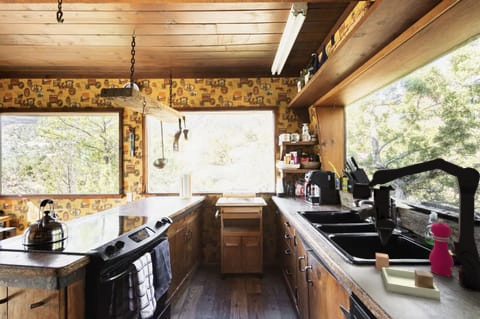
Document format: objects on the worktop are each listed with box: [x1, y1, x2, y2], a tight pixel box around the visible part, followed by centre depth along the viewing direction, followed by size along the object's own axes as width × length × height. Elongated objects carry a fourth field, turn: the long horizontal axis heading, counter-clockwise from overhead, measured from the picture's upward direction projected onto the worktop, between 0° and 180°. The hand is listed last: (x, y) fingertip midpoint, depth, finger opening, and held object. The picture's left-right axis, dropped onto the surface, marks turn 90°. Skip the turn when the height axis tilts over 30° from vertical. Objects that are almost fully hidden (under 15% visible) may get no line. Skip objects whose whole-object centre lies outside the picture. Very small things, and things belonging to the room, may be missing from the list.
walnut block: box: [414, 269, 434, 289], centre depth 81 cm, size 4×4×5 cm
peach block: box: [375, 252, 390, 271], centre depth 98 cm, size 4×4×5 cm
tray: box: [381, 267, 441, 301], centre depth 84 cm, size 14×14×3 cm
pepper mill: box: [428, 218, 455, 277], centre depth 95 cm, size 7×7×20 cm
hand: (382, 241), depth 98 cm, fingers open, 9 cm apart
